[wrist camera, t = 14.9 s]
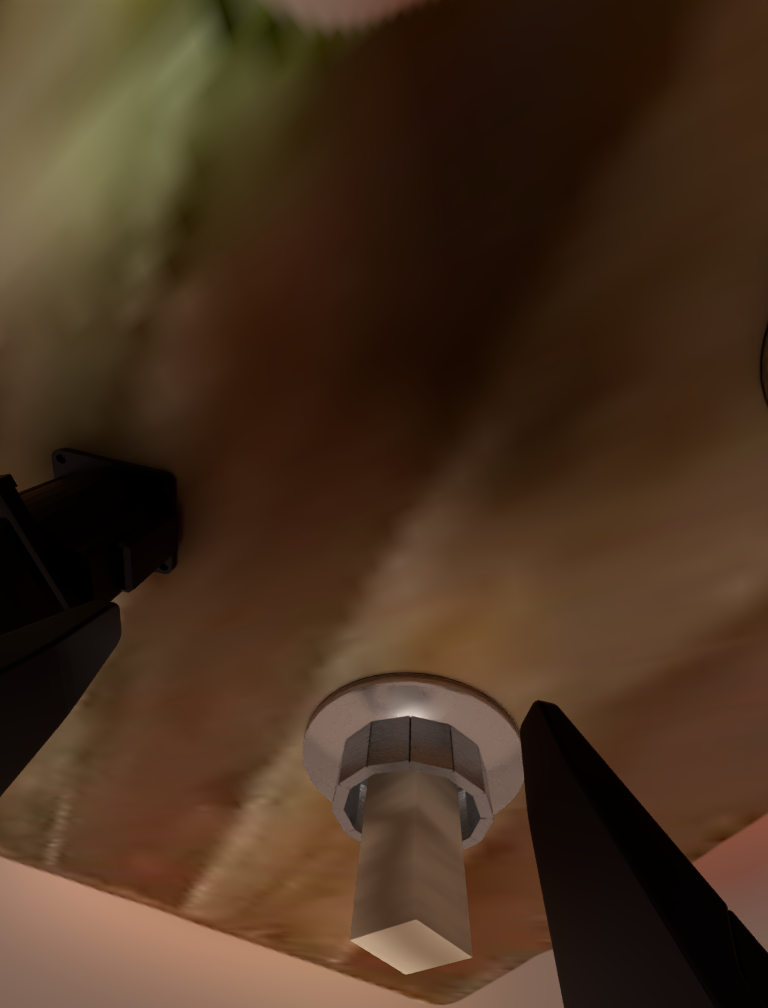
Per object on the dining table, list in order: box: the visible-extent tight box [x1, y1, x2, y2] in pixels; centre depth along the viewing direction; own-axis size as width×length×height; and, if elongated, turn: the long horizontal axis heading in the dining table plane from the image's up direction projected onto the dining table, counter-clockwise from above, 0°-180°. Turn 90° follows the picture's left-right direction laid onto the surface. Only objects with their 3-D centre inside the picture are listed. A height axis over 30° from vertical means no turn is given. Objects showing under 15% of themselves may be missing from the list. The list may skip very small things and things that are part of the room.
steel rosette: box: [302, 673, 524, 850], centre depth 27 cm, size 16×16×4 cm
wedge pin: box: [350, 770, 472, 974], centre depth 24 cm, size 4×4×9 cm
